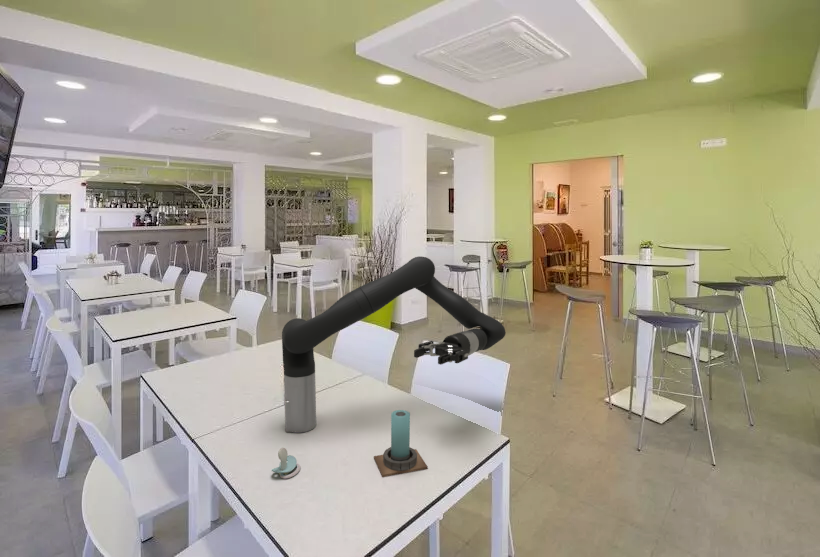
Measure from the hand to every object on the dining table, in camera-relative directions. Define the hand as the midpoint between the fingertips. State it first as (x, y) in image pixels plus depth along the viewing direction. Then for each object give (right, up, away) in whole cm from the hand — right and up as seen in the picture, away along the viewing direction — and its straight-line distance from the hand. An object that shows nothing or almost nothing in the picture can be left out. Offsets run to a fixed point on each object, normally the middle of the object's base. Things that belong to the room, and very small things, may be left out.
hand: (426, 357), depth 119 cm
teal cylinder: (-7, -26, -5) cm, 28 cm away
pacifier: (-36, -28, -9) cm, 46 cm away
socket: (-7, -27, -5) cm, 28 cm away
